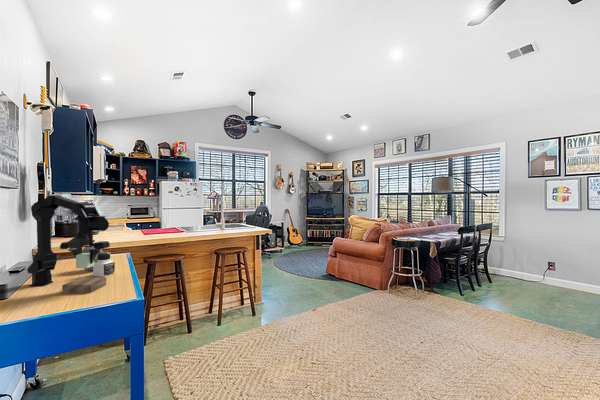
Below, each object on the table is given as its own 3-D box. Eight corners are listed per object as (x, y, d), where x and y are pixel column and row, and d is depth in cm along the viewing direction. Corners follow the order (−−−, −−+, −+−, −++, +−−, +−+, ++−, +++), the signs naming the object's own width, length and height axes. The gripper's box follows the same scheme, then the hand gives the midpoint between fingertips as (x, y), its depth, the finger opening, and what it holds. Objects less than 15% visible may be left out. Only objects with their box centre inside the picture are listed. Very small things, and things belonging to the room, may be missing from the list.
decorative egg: (92, 273, 162) (92, 246, 162) (74, 272, 164) (74, 245, 164) (109, 268, 173) (109, 243, 173) (92, 267, 175) (92, 242, 175)
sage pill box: (75, 268, 133) (75, 255, 133) (83, 265, 138) (83, 253, 138) (87, 268, 134) (87, 255, 134) (94, 265, 139) (94, 252, 139)
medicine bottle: (103, 277, 155) (104, 254, 155) (92, 276, 157) (92, 254, 157) (114, 273, 162) (115, 252, 162) (104, 272, 164) (104, 251, 164)
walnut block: (62, 294, 130) (62, 285, 130) (80, 285, 142) (80, 277, 142) (91, 293, 131) (91, 284, 131) (106, 285, 143) (106, 277, 143)
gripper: (50, 232, 127) (50, 268, 127) (96, 232, 129) (96, 267, 129) (68, 229, 138) (68, 262, 138) (110, 229, 140) (110, 262, 140)
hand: (85, 263), depth 136 cm, fingers closed on sage pill box, 5 cm apart
